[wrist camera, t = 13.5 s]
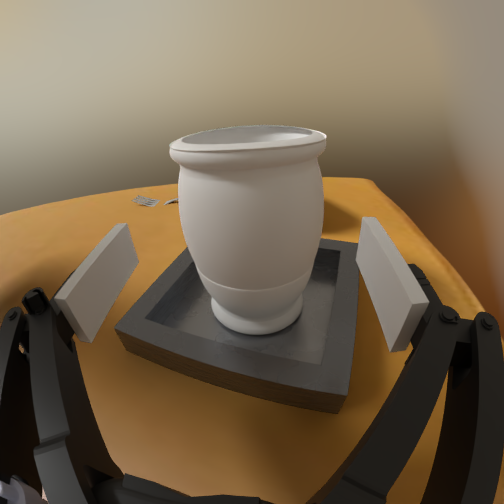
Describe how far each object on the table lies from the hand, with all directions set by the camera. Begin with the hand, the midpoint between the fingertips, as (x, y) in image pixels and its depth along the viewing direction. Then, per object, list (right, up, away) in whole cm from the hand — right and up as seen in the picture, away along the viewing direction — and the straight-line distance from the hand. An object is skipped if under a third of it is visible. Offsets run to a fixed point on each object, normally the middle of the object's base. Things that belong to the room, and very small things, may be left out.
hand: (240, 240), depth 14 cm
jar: (+1, -5, +11) cm, 12 cm away
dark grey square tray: (+1, -6, +11) cm, 12 cm away
